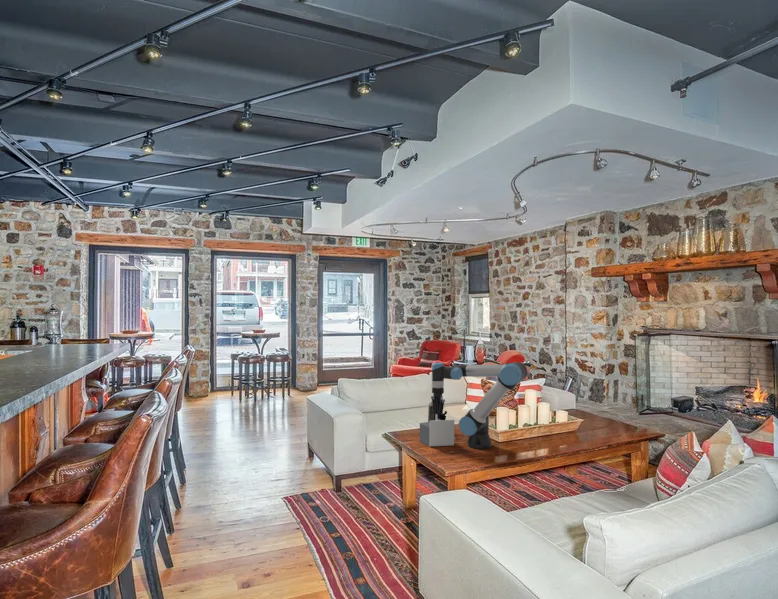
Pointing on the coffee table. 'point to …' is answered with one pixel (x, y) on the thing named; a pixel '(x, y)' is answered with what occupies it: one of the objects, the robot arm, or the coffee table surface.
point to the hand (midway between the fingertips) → (437, 423)
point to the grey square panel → (441, 432)
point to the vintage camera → (432, 414)
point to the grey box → (425, 433)
